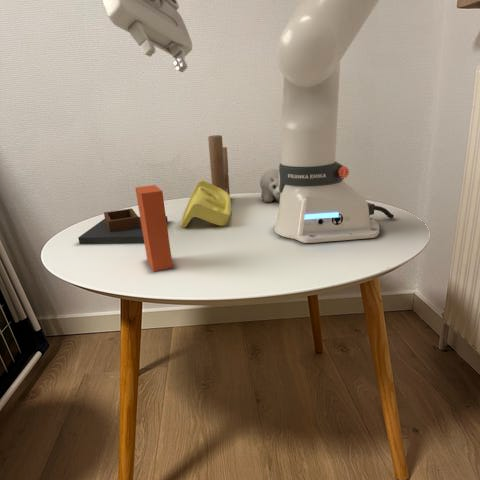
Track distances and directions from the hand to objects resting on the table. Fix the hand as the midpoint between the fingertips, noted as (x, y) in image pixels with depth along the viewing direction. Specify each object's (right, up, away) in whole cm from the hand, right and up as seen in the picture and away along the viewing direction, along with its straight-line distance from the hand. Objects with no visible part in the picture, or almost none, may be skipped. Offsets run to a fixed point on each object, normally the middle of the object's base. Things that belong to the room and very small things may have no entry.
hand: (167, 61), depth 78 cm
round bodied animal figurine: (+23, -15, +41) cm, 49 cm away
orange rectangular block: (-2, -36, +3) cm, 37 cm away
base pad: (-14, -26, +23) cm, 38 cm away
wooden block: (+8, -14, +44) cm, 47 cm away
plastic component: (+5, -21, +31) cm, 38 cm away
